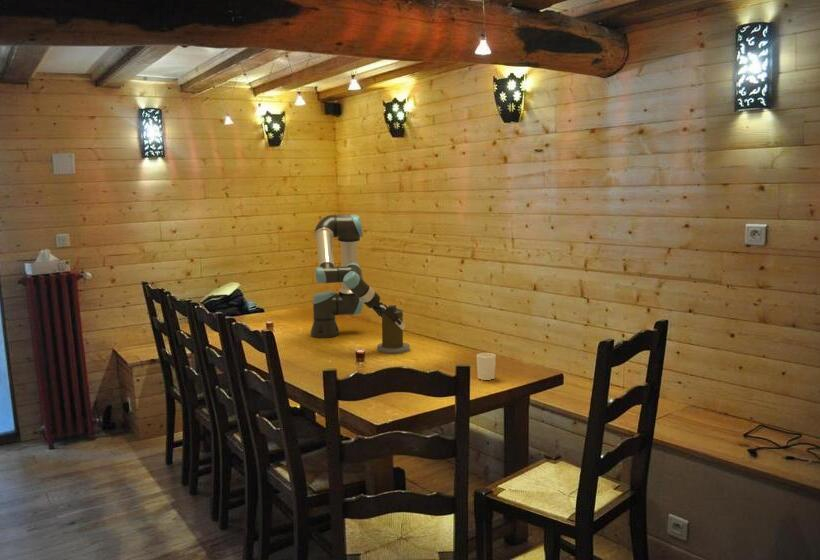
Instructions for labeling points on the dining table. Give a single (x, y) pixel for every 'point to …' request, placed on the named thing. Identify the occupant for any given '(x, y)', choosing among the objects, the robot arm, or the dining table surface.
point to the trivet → (393, 349)
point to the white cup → (486, 365)
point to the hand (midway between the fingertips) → (398, 326)
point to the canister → (392, 330)
